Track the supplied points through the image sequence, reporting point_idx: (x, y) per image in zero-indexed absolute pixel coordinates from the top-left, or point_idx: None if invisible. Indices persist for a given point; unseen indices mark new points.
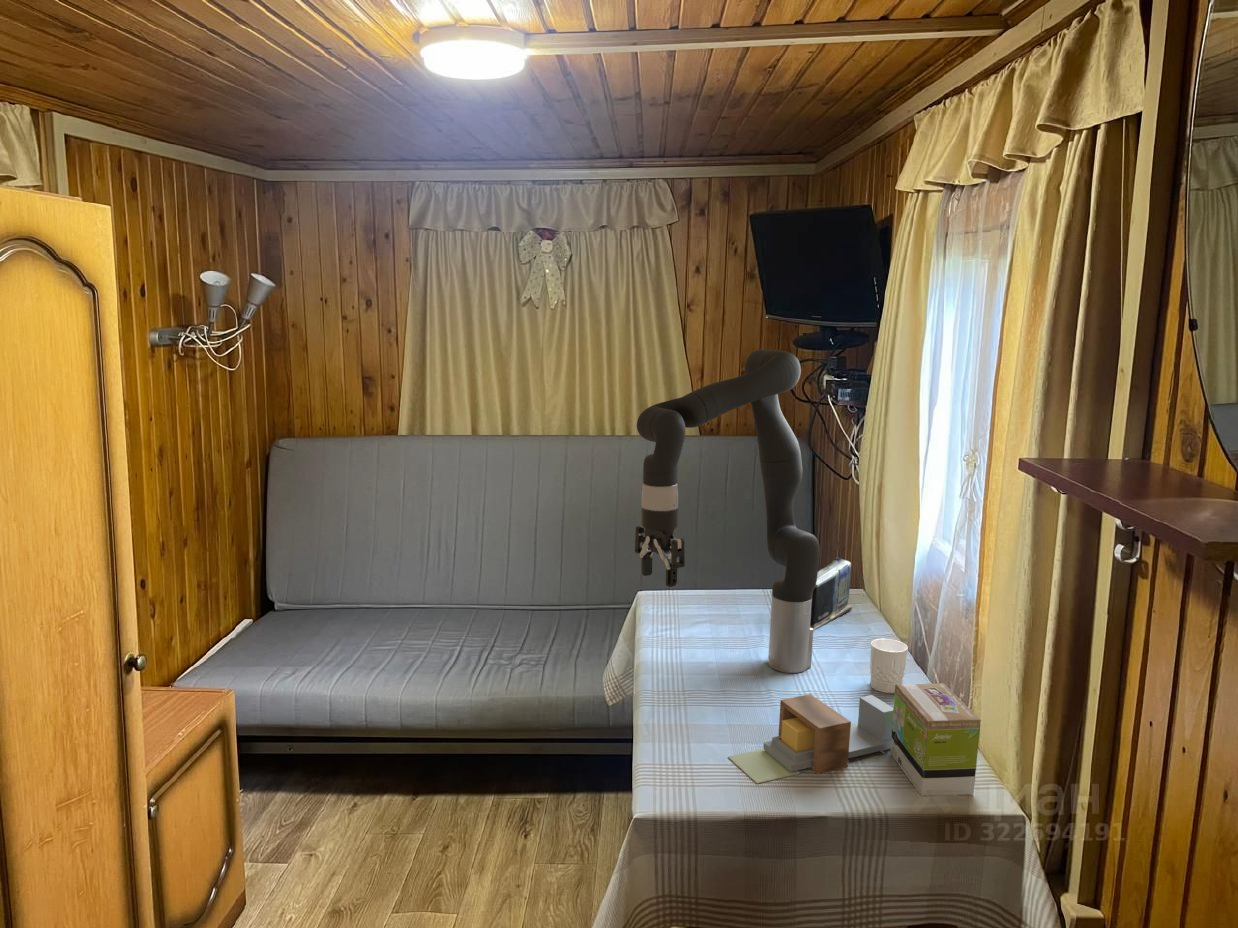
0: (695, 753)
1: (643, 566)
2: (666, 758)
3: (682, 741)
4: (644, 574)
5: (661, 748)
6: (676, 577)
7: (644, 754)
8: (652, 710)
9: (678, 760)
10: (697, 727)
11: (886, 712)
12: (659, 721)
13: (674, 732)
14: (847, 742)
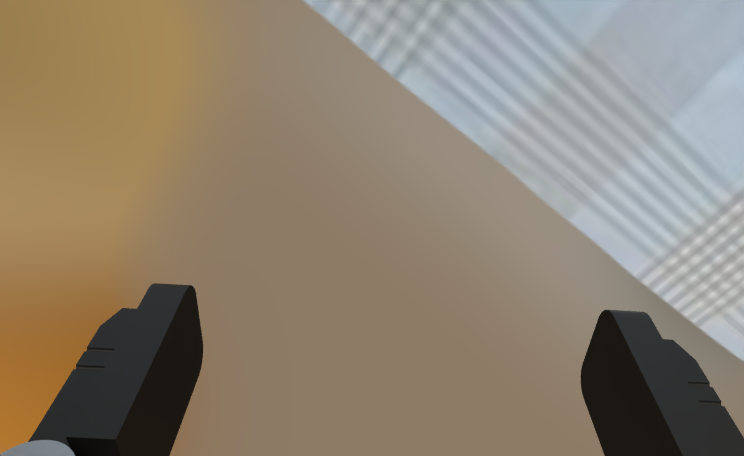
0: (716, 150)
1: (168, 446)
2: (668, 224)
3: (645, 135)
4: (199, 364)
5: (624, 204)
6: (718, 406)
7: (611, 253)
8: (439, 82)
9: (699, 208)
10: (625, 36)
11: None
12: (510, 111)
13: (591, 119)
14: None
